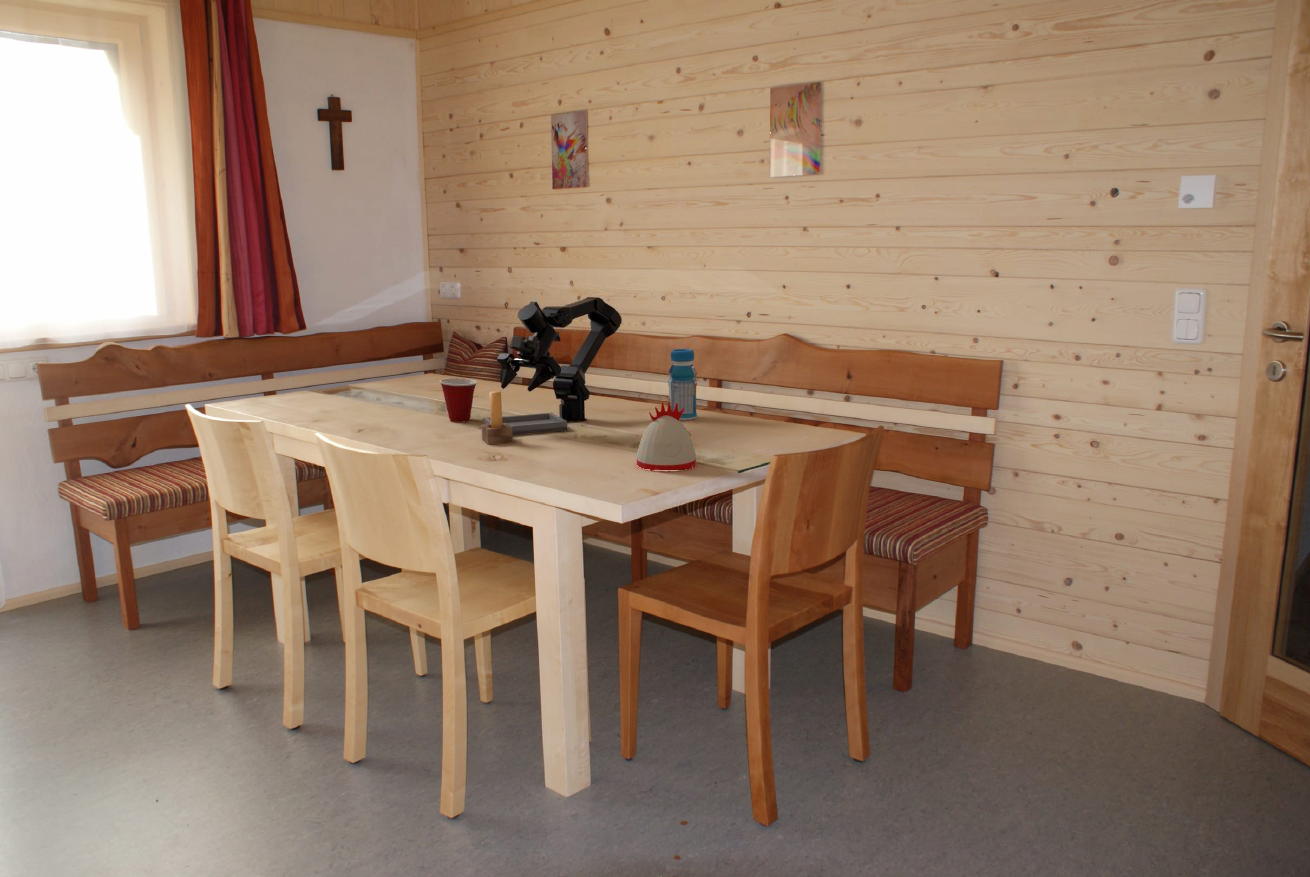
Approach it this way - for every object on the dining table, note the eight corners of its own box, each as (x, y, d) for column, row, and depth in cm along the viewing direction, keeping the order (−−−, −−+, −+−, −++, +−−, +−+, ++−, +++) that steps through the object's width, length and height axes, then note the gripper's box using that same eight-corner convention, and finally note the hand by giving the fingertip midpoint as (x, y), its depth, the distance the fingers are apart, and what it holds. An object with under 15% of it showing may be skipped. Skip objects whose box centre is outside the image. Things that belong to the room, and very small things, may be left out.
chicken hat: (699, 471, 222) (699, 406, 219) (638, 473, 221) (638, 408, 218) (692, 457, 236) (691, 396, 233) (635, 459, 235) (634, 397, 232)
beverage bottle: (680, 422, 279) (679, 352, 275) (662, 417, 286) (661, 349, 281) (703, 418, 284) (703, 350, 280) (685, 414, 290) (684, 347, 286)
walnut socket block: (506, 437, 260) (505, 422, 260) (512, 442, 254) (512, 427, 254) (482, 439, 258) (481, 424, 257) (487, 444, 252) (487, 429, 251)
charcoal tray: (551, 421, 283) (551, 412, 282) (567, 430, 269) (567, 421, 268) (483, 426, 275) (483, 418, 275) (496, 436, 262) (495, 427, 261)
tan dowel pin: (501, 439, 258) (499, 391, 255) (504, 441, 255) (502, 392, 253) (490, 440, 257) (488, 391, 254) (493, 442, 254) (490, 393, 252)
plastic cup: (470, 424, 279) (468, 383, 276) (435, 423, 281) (433, 382, 278) (484, 417, 289) (483, 377, 287) (450, 416, 291) (448, 376, 289)
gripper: (499, 323, 266) (473, 368, 259) (553, 326, 256) (527, 373, 249) (519, 349, 274) (494, 393, 267) (572, 353, 264) (548, 399, 258)
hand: (515, 389), depth 260 cm, fingers open, 9 cm apart
